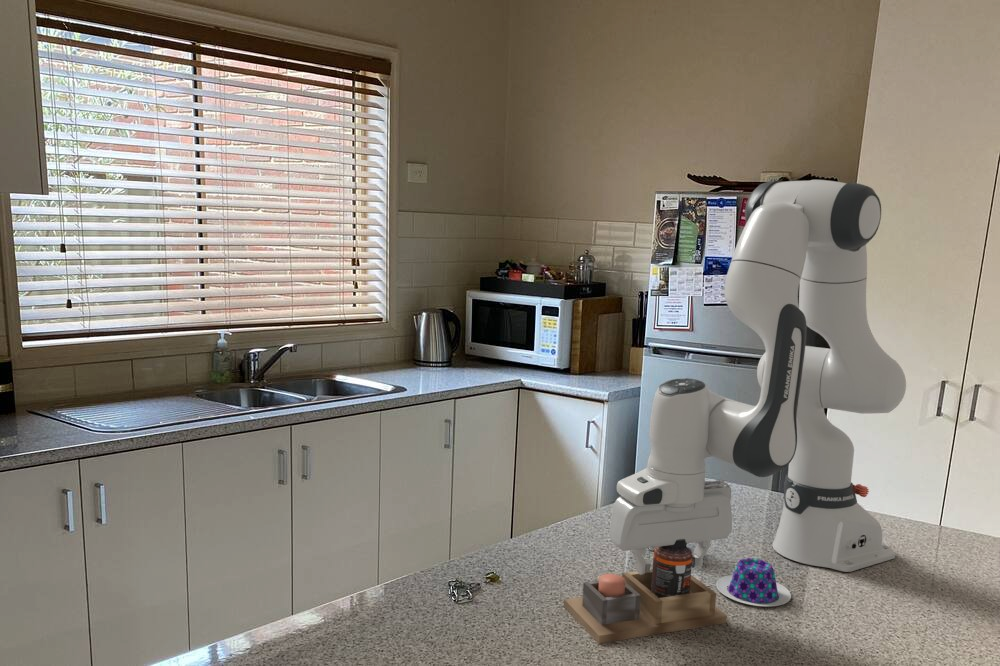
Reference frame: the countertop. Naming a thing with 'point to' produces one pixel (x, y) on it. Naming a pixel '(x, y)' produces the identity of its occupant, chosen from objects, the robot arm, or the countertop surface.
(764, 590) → the pudding
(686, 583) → the supplement bottle
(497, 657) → the countertop surface
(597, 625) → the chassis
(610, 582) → the button
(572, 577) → the countertop surface
